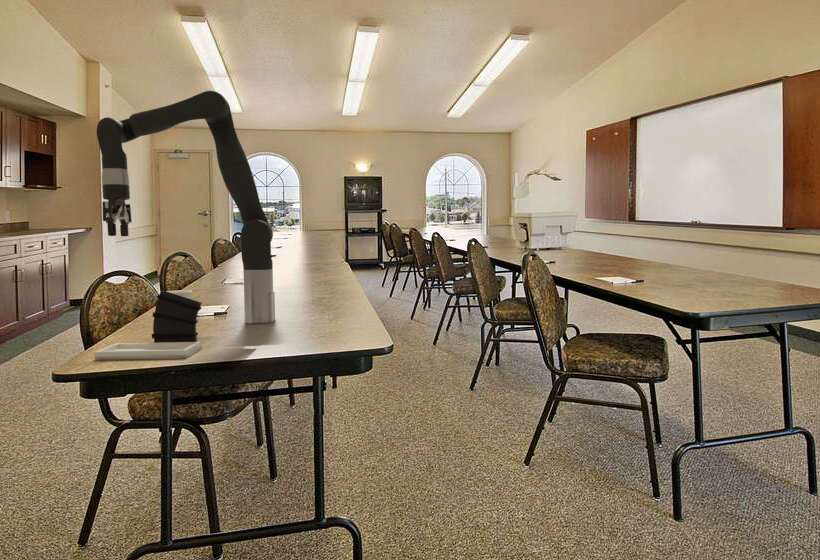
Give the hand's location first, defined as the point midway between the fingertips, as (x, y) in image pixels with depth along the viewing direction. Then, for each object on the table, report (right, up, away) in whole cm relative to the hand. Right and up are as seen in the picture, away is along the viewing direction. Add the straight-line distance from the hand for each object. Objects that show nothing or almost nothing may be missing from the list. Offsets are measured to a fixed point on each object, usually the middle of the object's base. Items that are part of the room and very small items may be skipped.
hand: (118, 236), depth 180 cm
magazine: (+24, -33, -21) cm, 46 cm away
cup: (+24, -32, -11) cm, 41 cm away
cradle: (+25, -33, -33) cm, 53 cm away
